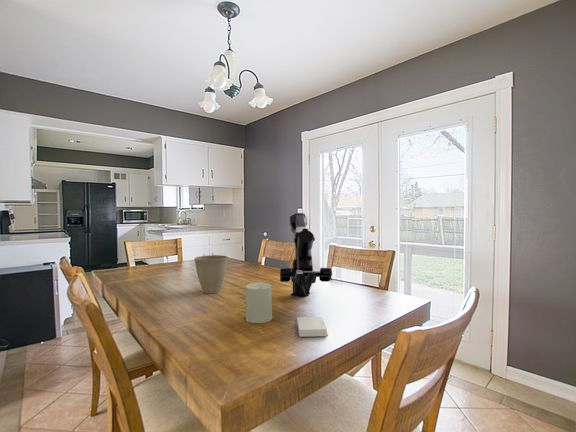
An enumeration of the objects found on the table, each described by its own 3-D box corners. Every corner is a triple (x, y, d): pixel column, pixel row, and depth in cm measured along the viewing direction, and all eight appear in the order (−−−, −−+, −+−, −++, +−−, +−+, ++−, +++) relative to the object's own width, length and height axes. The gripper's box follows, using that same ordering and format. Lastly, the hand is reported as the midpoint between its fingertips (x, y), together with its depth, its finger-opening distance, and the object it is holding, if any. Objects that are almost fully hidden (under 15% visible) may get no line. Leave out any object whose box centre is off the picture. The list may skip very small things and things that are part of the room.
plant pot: (234, 290, 136) (234, 256, 136) (210, 298, 124) (210, 260, 124) (212, 285, 144) (212, 253, 144) (187, 293, 132) (187, 258, 132)
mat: (294, 321, 98) (294, 320, 98) (321, 320, 98) (321, 319, 98) (297, 338, 85) (297, 336, 85) (328, 337, 85) (328, 336, 85)
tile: (297, 317, 94) (299, 329, 84) (321, 316, 94) (326, 329, 84) (297, 324, 94) (299, 337, 84) (321, 323, 94) (326, 337, 84)
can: (251, 326, 94) (250, 289, 93) (241, 317, 102) (241, 282, 102) (276, 321, 98) (276, 285, 98) (266, 312, 106) (266, 280, 106)
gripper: (325, 269, 118) (330, 306, 107) (279, 269, 117) (280, 306, 106) (329, 253, 109) (335, 291, 99) (280, 253, 109) (280, 291, 98)
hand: (307, 295), depth 101 cm, fingers closed
